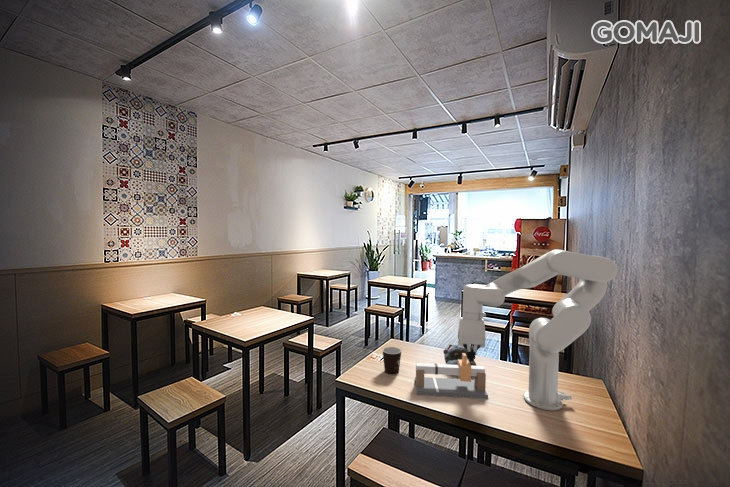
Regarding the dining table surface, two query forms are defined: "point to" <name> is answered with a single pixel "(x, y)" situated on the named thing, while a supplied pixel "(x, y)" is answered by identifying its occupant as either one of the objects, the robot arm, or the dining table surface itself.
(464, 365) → the orange stepped block
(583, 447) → the dining table surface
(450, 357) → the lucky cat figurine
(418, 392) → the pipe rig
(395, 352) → the coffee mug
